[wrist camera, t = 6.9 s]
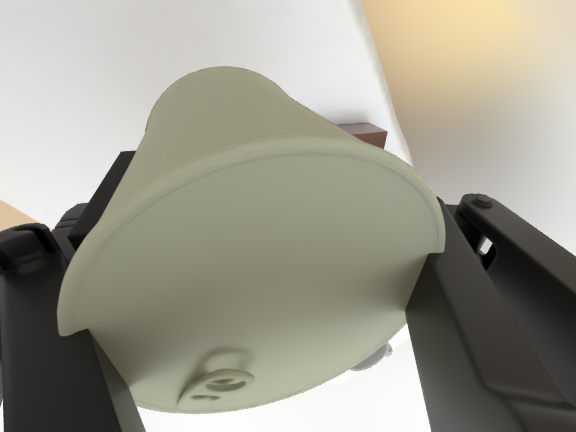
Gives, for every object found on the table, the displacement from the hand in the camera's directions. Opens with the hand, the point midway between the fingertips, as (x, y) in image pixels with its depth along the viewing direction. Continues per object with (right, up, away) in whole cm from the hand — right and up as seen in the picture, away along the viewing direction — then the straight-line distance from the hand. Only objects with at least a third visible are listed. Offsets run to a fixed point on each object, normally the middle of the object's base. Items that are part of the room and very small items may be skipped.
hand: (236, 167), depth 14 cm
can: (-1, +1, +2) cm, 2 cm away
